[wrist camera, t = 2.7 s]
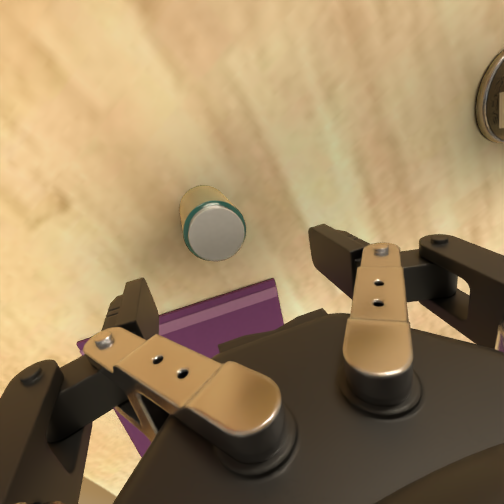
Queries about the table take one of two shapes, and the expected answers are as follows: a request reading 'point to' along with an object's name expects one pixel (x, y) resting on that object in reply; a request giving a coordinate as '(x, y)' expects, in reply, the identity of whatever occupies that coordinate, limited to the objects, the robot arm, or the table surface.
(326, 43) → the table surface
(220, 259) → the salt shaker
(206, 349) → the napkin
